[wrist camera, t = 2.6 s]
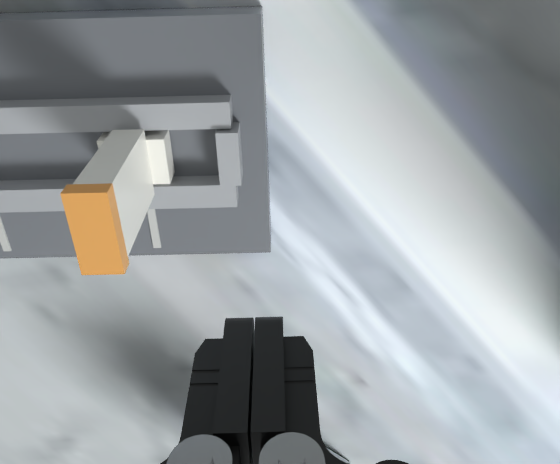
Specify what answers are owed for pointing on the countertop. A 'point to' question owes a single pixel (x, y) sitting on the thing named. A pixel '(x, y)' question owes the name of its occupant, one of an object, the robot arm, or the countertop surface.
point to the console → (136, 123)
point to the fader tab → (115, 196)
